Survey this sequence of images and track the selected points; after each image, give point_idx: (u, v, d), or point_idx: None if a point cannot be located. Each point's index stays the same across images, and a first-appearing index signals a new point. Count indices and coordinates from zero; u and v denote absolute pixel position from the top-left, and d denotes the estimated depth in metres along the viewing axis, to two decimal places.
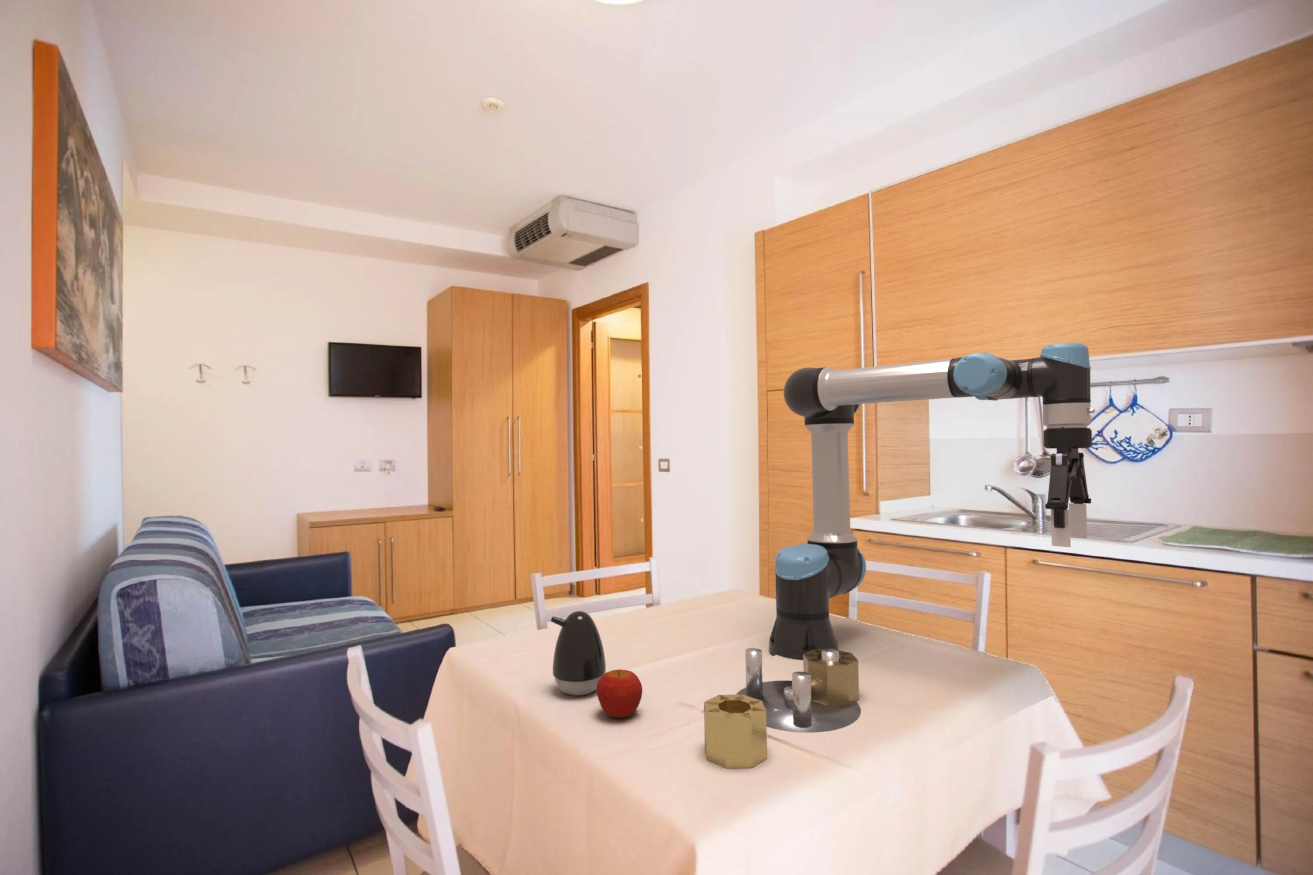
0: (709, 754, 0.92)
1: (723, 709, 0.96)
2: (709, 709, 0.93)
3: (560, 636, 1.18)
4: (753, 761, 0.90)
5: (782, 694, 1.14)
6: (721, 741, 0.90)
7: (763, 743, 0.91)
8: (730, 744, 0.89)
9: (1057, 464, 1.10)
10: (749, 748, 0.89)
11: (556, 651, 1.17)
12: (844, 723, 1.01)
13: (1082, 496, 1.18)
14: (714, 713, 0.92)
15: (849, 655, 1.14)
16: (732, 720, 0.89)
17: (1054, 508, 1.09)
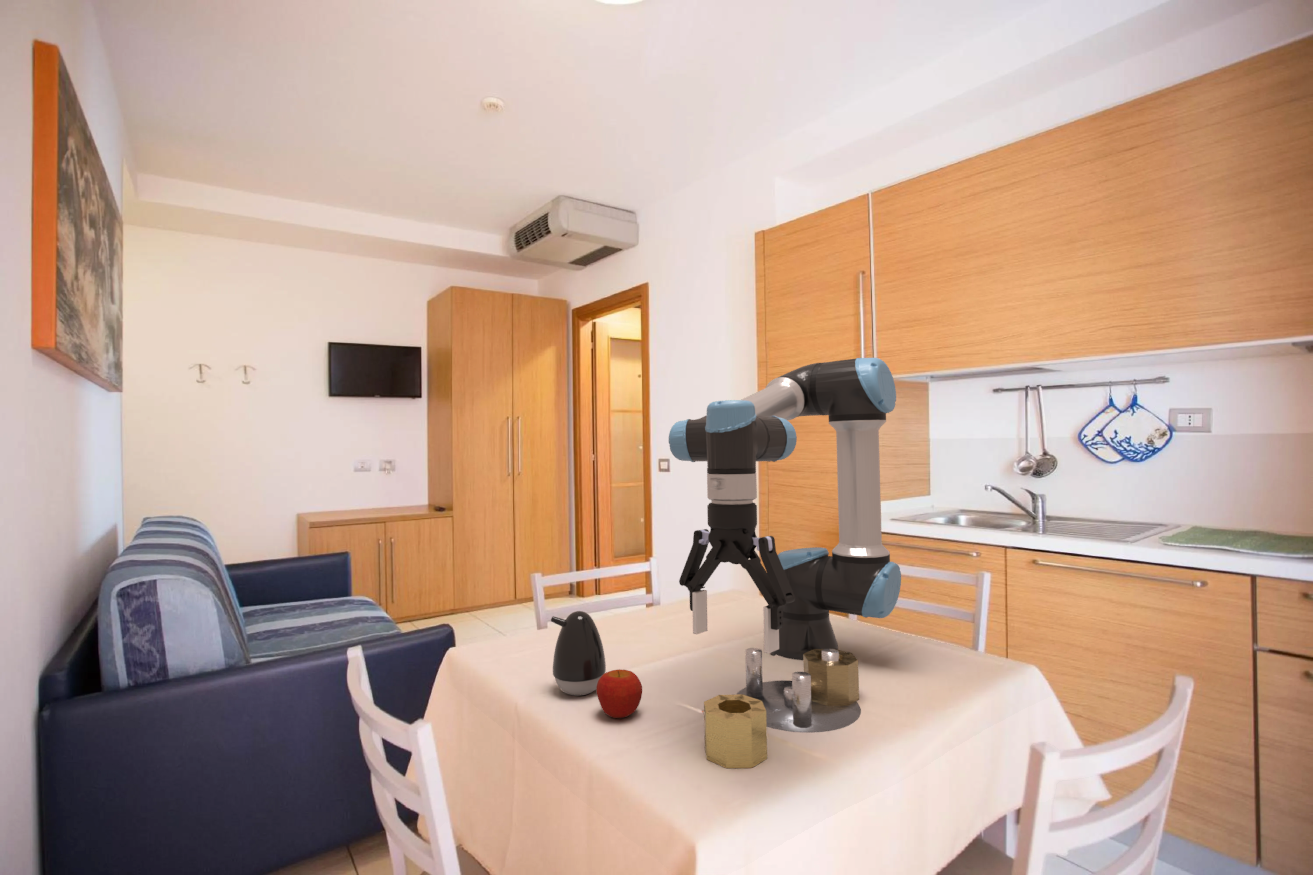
0: (709, 754, 0.92)
1: (723, 709, 0.96)
2: (709, 709, 0.93)
3: (560, 636, 1.18)
4: (753, 761, 0.90)
5: (782, 694, 1.14)
6: (721, 741, 0.90)
7: (763, 743, 0.91)
8: (730, 744, 0.89)
9: None
10: (749, 748, 0.89)
11: (556, 651, 1.17)
12: (844, 723, 1.01)
13: None
14: (714, 713, 0.92)
15: (849, 655, 1.14)
16: (732, 720, 0.89)
17: None
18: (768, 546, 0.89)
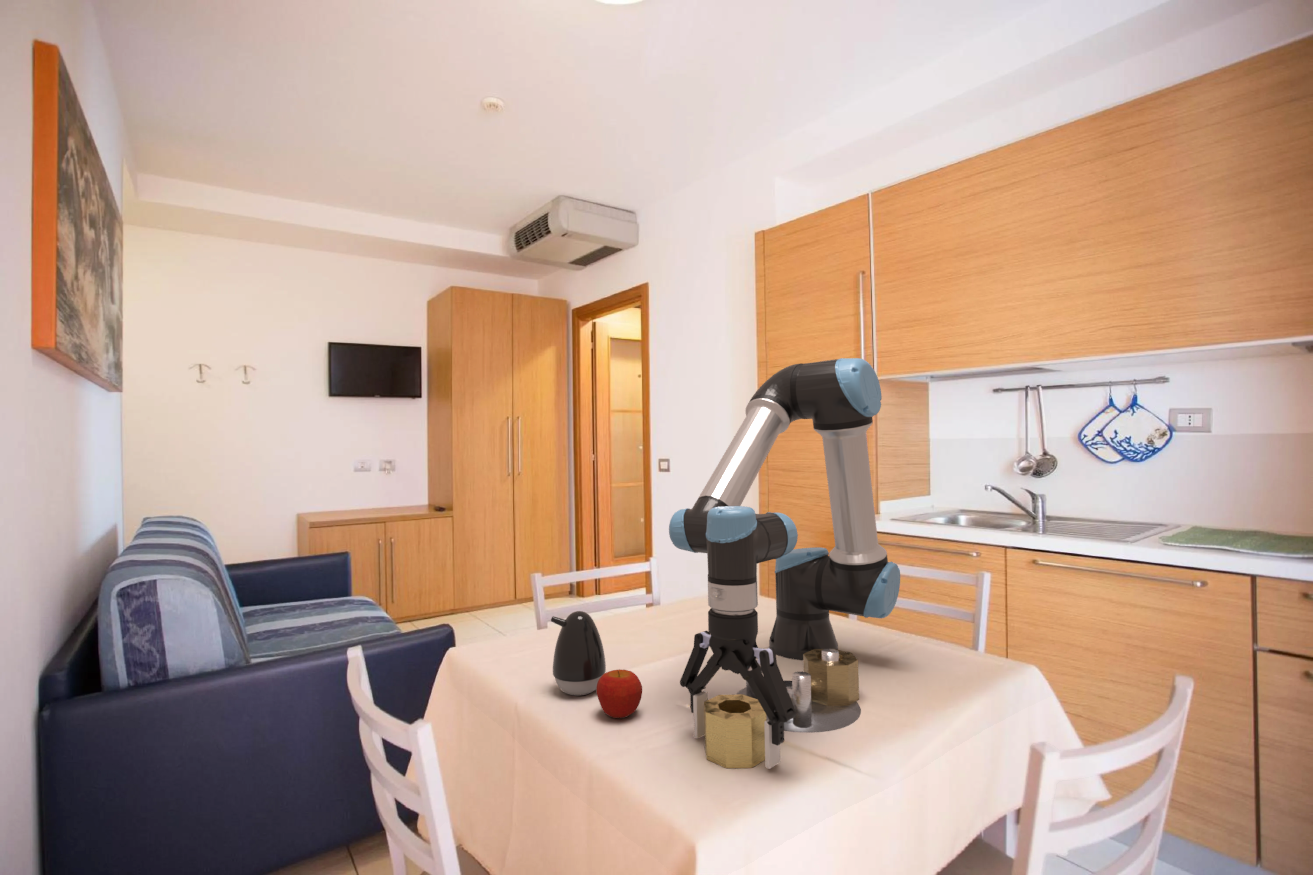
0: (709, 754, 0.92)
1: (723, 709, 0.96)
2: (709, 709, 0.93)
3: (560, 636, 1.18)
4: (753, 761, 0.90)
5: None
6: (721, 741, 0.90)
7: (763, 743, 0.91)
8: (730, 744, 0.89)
9: None
10: (749, 748, 0.89)
11: (556, 651, 1.17)
12: (844, 723, 1.01)
13: None
14: (714, 713, 0.92)
15: (849, 655, 1.14)
16: (732, 720, 0.89)
17: None
18: (769, 660, 0.89)
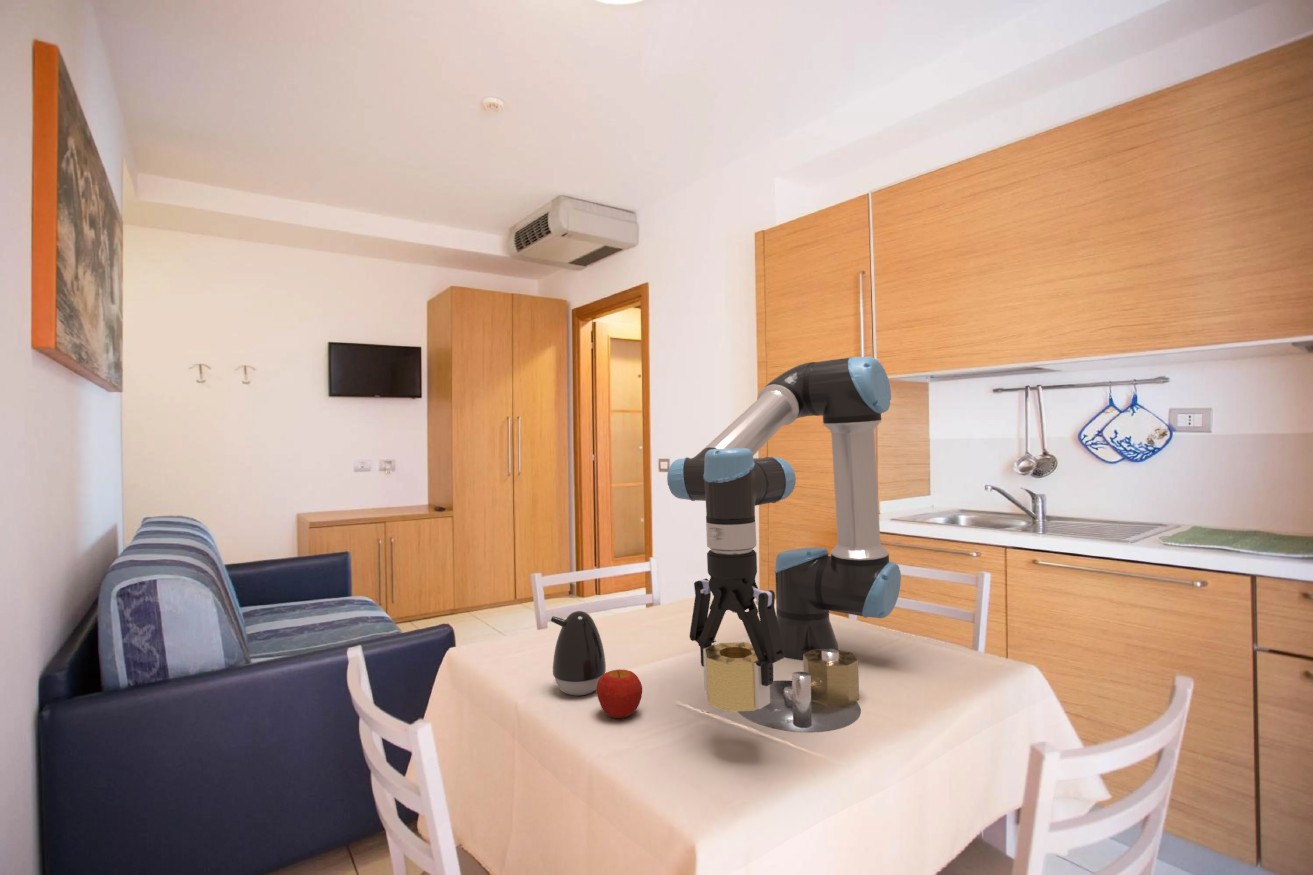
0: (711, 699, 0.92)
1: (724, 656, 0.96)
2: (711, 655, 0.94)
3: (560, 636, 1.18)
4: None
5: (782, 694, 1.14)
6: (722, 685, 0.91)
7: None
8: (732, 688, 0.90)
9: None
10: (751, 692, 0.90)
11: (556, 651, 1.17)
12: (844, 723, 1.01)
13: None
14: (715, 659, 0.92)
15: (849, 655, 1.14)
16: (733, 664, 0.90)
17: None
18: (767, 603, 0.89)
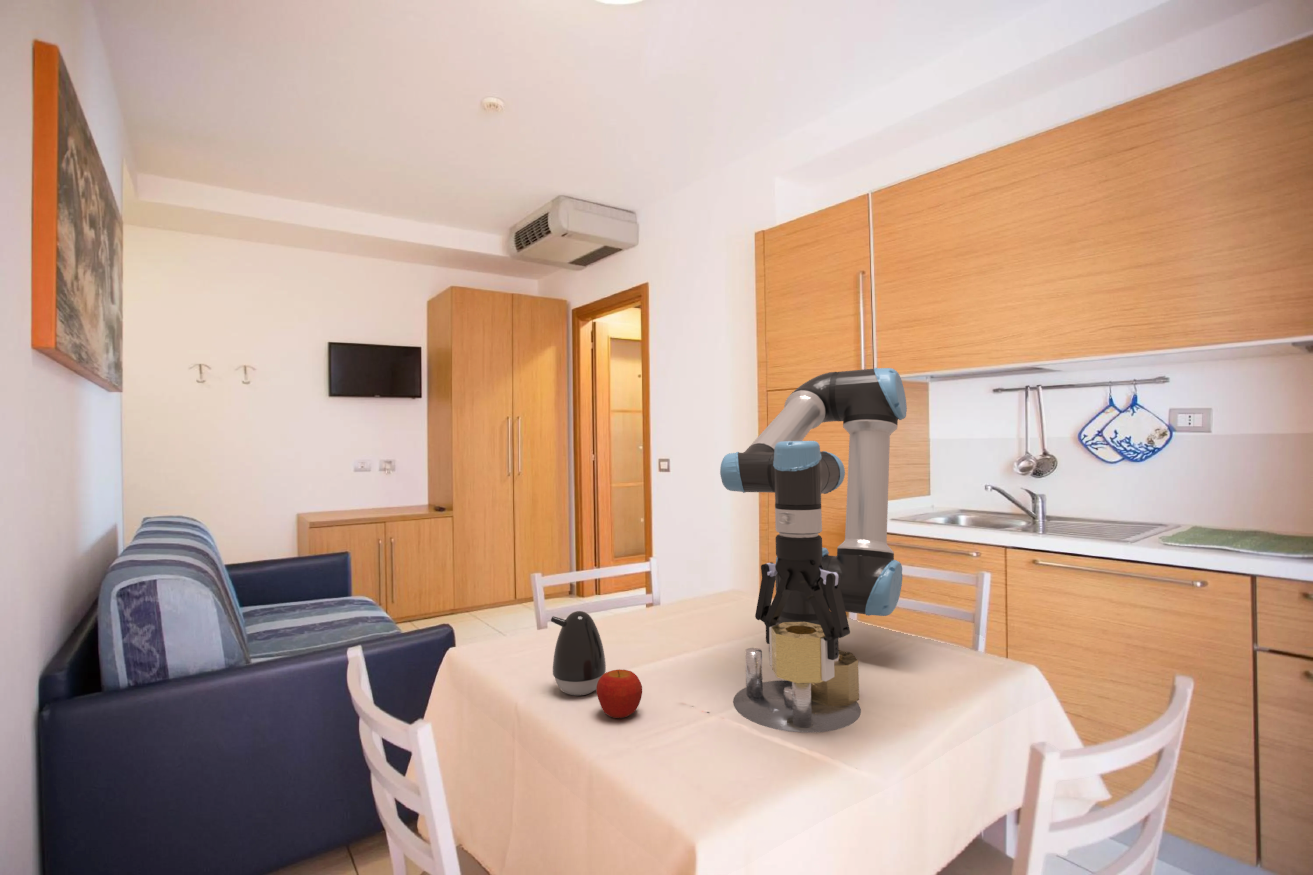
0: (779, 672, 0.99)
1: None
2: (778, 631, 1.01)
3: (560, 636, 1.18)
4: (821, 677, 0.98)
5: (782, 694, 1.14)
6: (791, 658, 0.98)
7: None
8: (800, 661, 0.97)
9: None
10: (817, 665, 0.97)
11: (556, 651, 1.17)
12: (844, 723, 1.01)
13: None
14: (784, 634, 0.99)
15: (849, 655, 1.14)
16: (802, 639, 0.97)
17: None
18: (834, 582, 0.97)
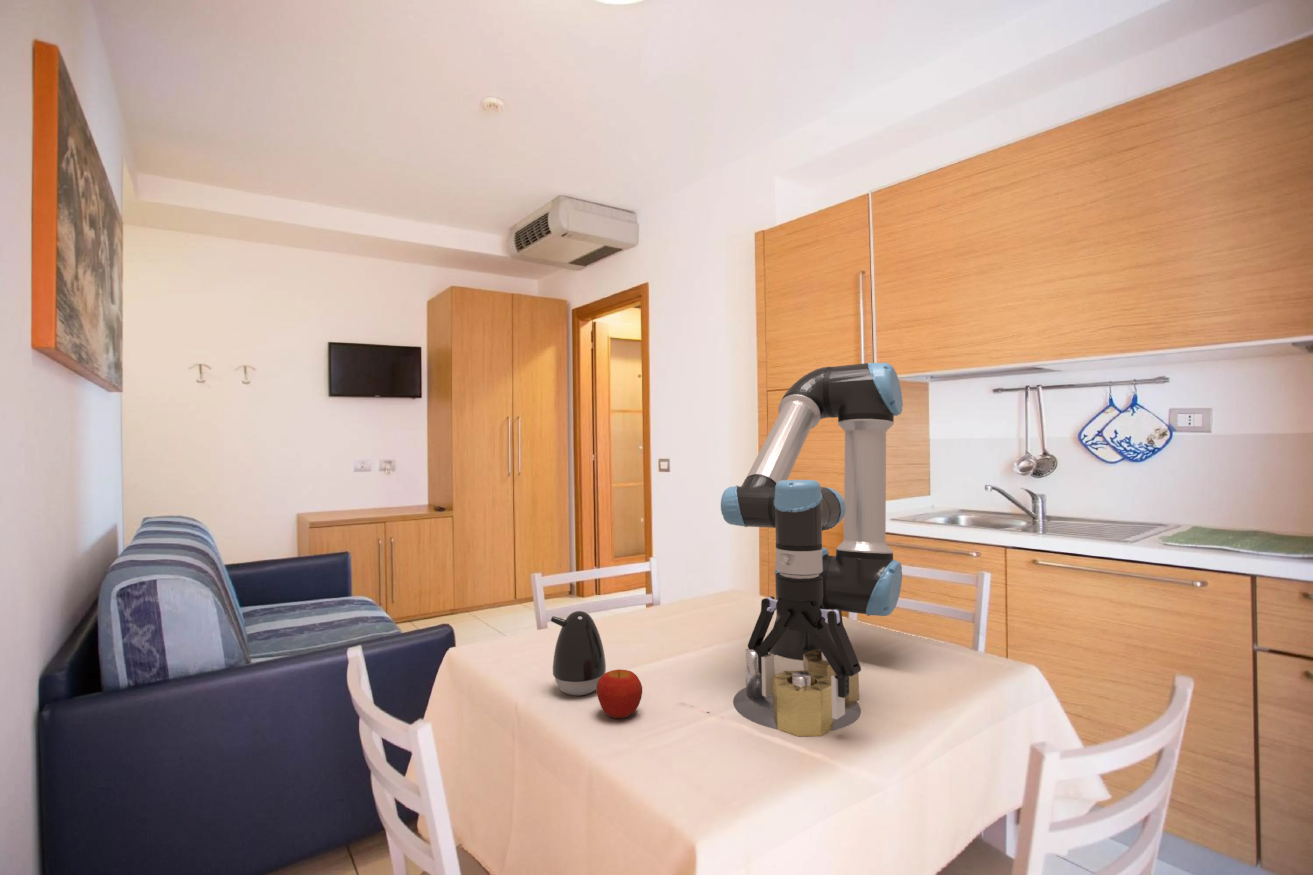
0: (780, 724, 0.99)
1: (790, 683, 1.04)
2: (780, 683, 1.01)
3: (560, 636, 1.18)
4: (822, 730, 0.97)
5: None
6: (792, 711, 0.98)
7: (830, 714, 0.99)
8: (801, 714, 0.97)
9: None
10: (818, 718, 0.97)
11: (556, 651, 1.17)
12: (844, 723, 1.01)
13: None
14: (785, 686, 0.99)
15: None
16: (803, 692, 0.97)
17: None
18: (836, 619, 0.97)
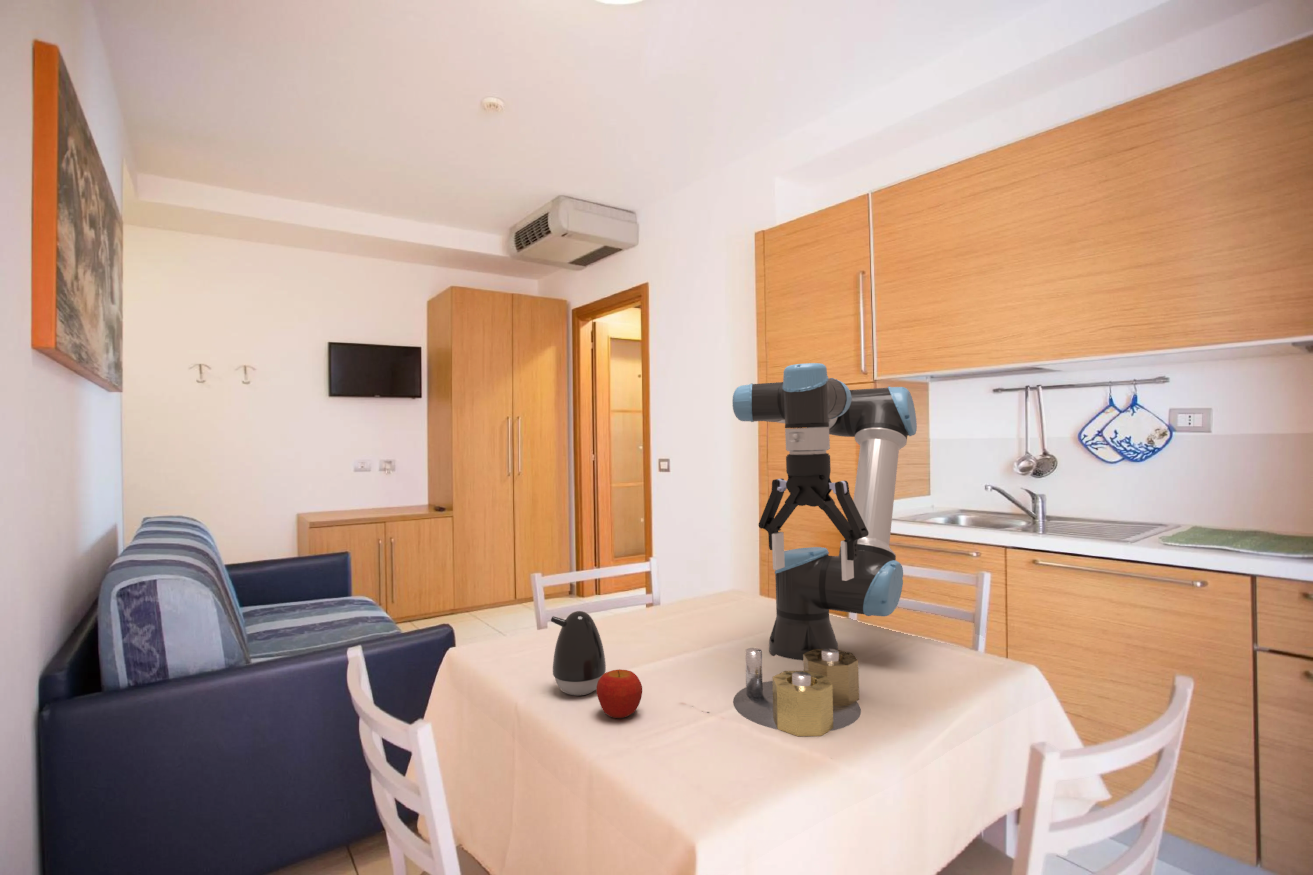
0: (780, 724, 0.99)
1: (790, 683, 1.04)
2: (780, 683, 1.01)
3: (560, 636, 1.18)
4: (822, 730, 0.97)
5: None
6: (792, 711, 0.98)
7: (830, 714, 0.99)
8: (801, 714, 0.97)
9: None
10: (818, 718, 0.97)
11: (556, 651, 1.17)
12: (844, 723, 1.01)
13: None
14: (785, 686, 0.99)
15: (849, 655, 1.14)
16: (803, 692, 0.97)
17: None
18: (843, 489, 1.03)
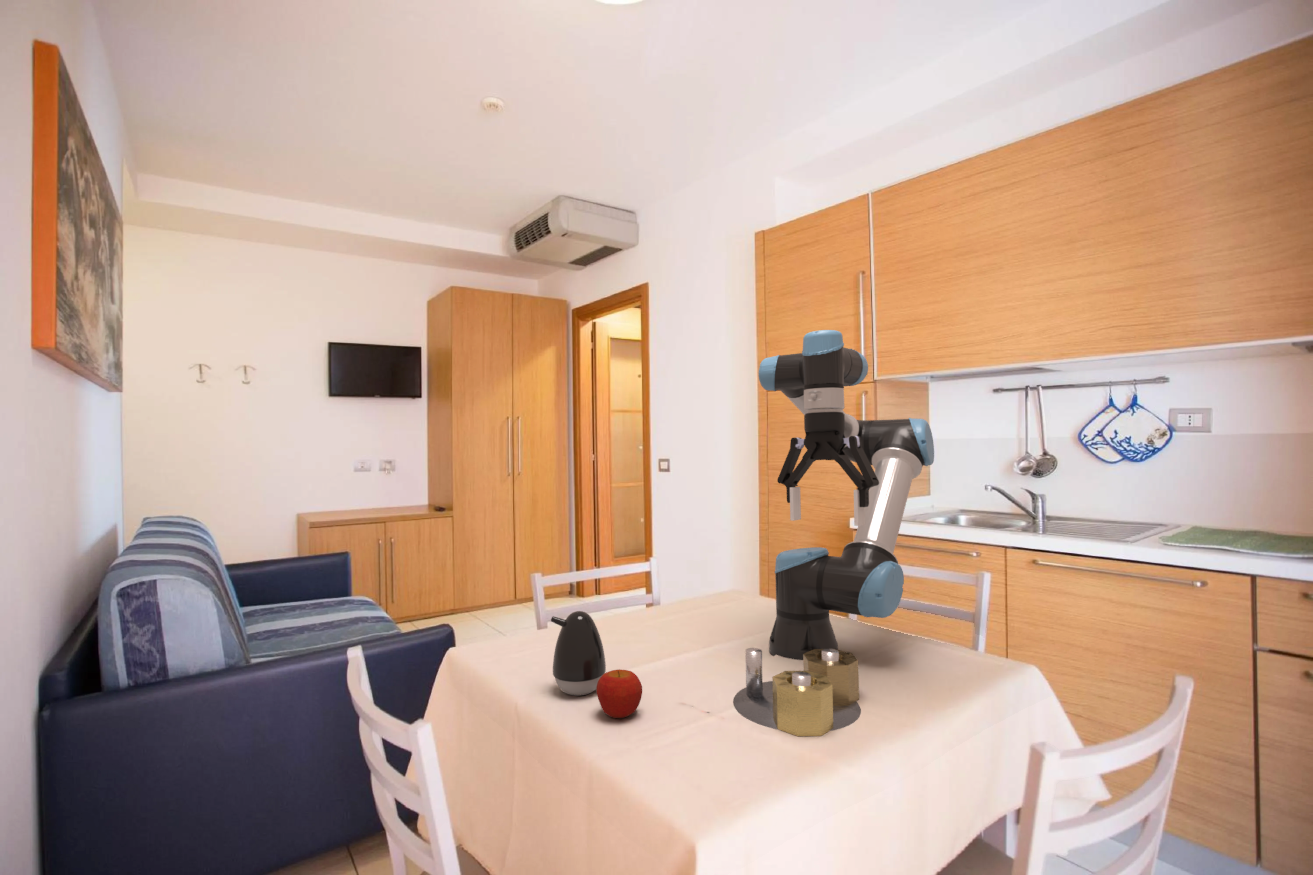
0: (780, 724, 0.99)
1: (790, 683, 1.04)
2: (780, 683, 1.01)
3: (560, 636, 1.18)
4: (822, 730, 0.97)
5: None
6: (792, 711, 0.98)
7: (830, 714, 0.99)
8: (801, 714, 0.97)
9: None
10: (818, 718, 0.97)
11: (556, 651, 1.17)
12: (844, 723, 1.01)
13: None
14: (785, 686, 0.99)
15: (849, 655, 1.14)
16: (803, 692, 0.97)
17: None
18: (857, 443, 1.14)
